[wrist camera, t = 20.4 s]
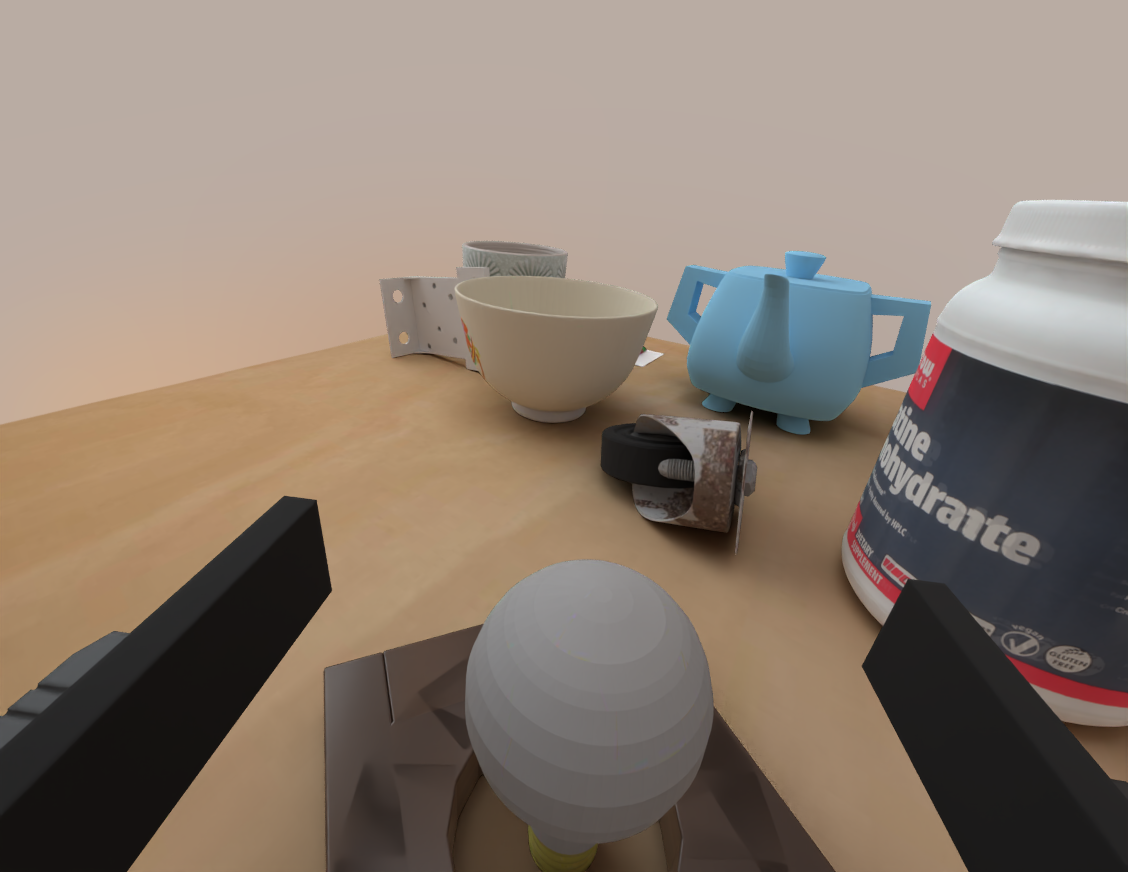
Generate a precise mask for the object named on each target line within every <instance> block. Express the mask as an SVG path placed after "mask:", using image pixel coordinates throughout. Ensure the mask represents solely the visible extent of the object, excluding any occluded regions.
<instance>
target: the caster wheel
mask: <svg viewBox="0 0 1128 872" xmlns="http://www.w3.org/2000/svg"><path fill="white" fill-rule="evenodd" d="M752 419H753V411H752V412H751V416H750V421H749V426H748V433H747V442H746V449H744V450H742V451H741V430H740V423H738V422H730V421H719V420H707V419H696V418H685V417H673V416H662V415H650V414H641V415H640V416H639V417H638V419H637V422H636V423H630V424H621V425H615V426H611V427H608V428H606V429H605V430H604V431H603V433H602V447H601V467H602V469H603V470H604V471H605V472H606V473H607V474H609V475H610V476H612V477H615V478H617V479H620V480H623V481H626V482H629V483H632V490H633V498H634V503H635V506H636V508H637V510H638V512H639V513H640V514H641V515H642V516H644V517H645V518H647V519H649V520H652V521H658V522H664V523H670V524H676V525H683V526H689V527H695V528H701V529H707V530H713V531H719V532H728V531H729V528H730V524H731V520H732V516H733V512H734V506H735V504H736V505H737V506H739V517H738V527H737V536H736V546H735V556H736V554H737V550H738V543H739V535H740V527H741V520H742V512H743V503H744V496H750V495H751V494H752V493H753V492H754V491H755V483H756V473H757V466H756V464H755V462H754V461H753V460H748V456H749V447H750V437H751V428H752ZM740 451H741V454H740ZM739 457H740V458H739ZM738 461H739V463H738Z"/></svg>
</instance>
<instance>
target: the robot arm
mask: <svg viewBox="0 0 1128 872" xmlns="http://www.w3.org/2000/svg"><path fill="white" fill-rule="evenodd" d="M331 591H332V588H331V582H330V576H329V570H328V564H327V558H326V553H325V547H324V541H323V535H322V529H321V523H320V517H319V512H318V506H317V500H312V499H304V498H297V497H289V496H284V497H282V498H281V499H280V500H279V501H278V502H277V503H276V504H275V505H273V506H272V507H271V508H270V509H269V510H268V511H267V512H266V513H264V514H263V515H262V516H261V517H260V518H259V519H258V520H257V521H255V522H254V523H253V524H252V525H251V526H250V527H249V528H248V529H247V530H245V531H244V532H243V533H242V534H241V535H240V536H239V537H238V538H236V539H235V540H234V541H233V542H232V543H231V544H230V545H229V546H227V547H226V548H225V549H224V550H223V551H222V552H221V553H220V554H218V555H217V556H216V557H215V558H214V559H213V560H212V561H211V562H209V563H208V564H207V565H206V566H205V567H204V568H203V569H202V570H201V571H199V572H198V573H197V574H196V575H195V576H194V577H193V578H192V579H190V580H189V581H188V582H187V583H186V584H185V585H184V586H183V587H181V588H180V589H179V590H178V591H177V592H176V593H175V594H174V595H172V596H171V597H170V598H169V599H168V600H167V601H166V602H165V603H164V604H162V605H161V606H160V607H159V608H158V609H157V610H156V611H155V612H153V613H152V614H151V615H150V616H149V617H148V618H147V619H146V620H144V621H143V622H142V623H141V624H140V625H139V626H138V627H137V628H135V629H134V630H133V631H132V632H131V633H124V632H118V631H113V632H111V633H110V634H108V635H106V636H104V637H103V638H101V639H99V640H97V641H96V642H94V643H92V644H90V645H89V646H87V647H85V648H83V649H81V650H80V651H78V652H76V653H74V654H73V655H72V656H71V657H69V658H68V659H67V660H66V661H65V662H63V663H62V664H61V665H60V666H59V667H57V668H56V669H55V670H54V671H53V672H51V673H50V674H49V675H48V676H47V677H45V678H44V679H43V680H42V681H41V682H39V683H38V687H37V688H36V689H35V690H30V691H29V692H27V693H26V694H25V695H24V696H23V697H22V698H20V699H19V700H18V701H17V702H16V703H14V704H13V705H12V706H11V707H10V708H8V711H7V713H6V714H5V715H4V716H0V872H127V871H128V870H129V868H130V867H131V865H132V864H133V863H134V861H135V860H136V859H137V857H138V856H139V854H140V853H141V852H142V850H143V849H144V848H145V846H146V845H147V843H148V842H149V841H150V839H151V838H152V837H153V835H154V834H155V833H156V831H157V830H158V828H159V827H160V826H161V824H162V823H163V822H164V820H165V819H166V817H167V816H168V815H169V813H170V812H171V811H172V809H173V808H174V806H175V805H176V804H177V802H178V801H179V800H180V798H181V797H182V796H183V794H184V793H185V791H186V790H187V789H188V787H189V786H190V785H191V783H192V782H193V780H194V779H195V778H196V776H197V775H198V774H199V772H200V771H201V769H202V768H203V767H204V765H205V764H206V763H207V761H208V760H209V759H210V757H211V756H212V754H213V753H214V752H215V750H216V749H217V748H218V746H219V745H220V743H221V742H222V741H223V739H224V738H225V737H226V735H227V734H228V732H229V731H230V730H231V728H232V727H233V726H234V724H235V723H236V721H237V720H238V719H239V717H240V716H241V715H242V713H243V712H244V711H245V709H246V708H247V706H248V705H249V704H250V702H251V701H252V700H253V698H254V697H255V695H256V694H257V693H258V691H259V690H260V689H261V687H262V686H263V684H264V683H265V682H266V680H267V679H268V678H269V676H270V675H271V674H272V672H273V671H274V669H275V668H276V667H277V665H278V664H279V663H280V661H281V660H282V658H283V657H284V656H285V654H286V653H287V652H288V650H289V649H290V647H291V646H292V645H293V643H294V642H295V641H296V639H297V638H298V637H299V635H300V634H301V632H302V631H303V630H304V628H305V627H306V626H307V624H308V623H309V621H310V620H311V619H312V617H313V616H314V615H315V613H316V612H317V610H318V609H319V608H320V606H321V605H322V604H323V602H324V601H325V599H326V598H327V597H328V595H329V594H330V593H331ZM862 668H863V669H864V671H865V673H866V675H867V677H868V679H869V681H870V683H871V685H872V687H873V689H874V691H875V693H876V694H877V696H878V698H879V700H880V702H881V704H882V706H883V708H884V710H885V712H886V714H887V716H888V718H889V719H890V721H891V723H892V725H893V727H894V729H895V731H896V733H897V735H898V737H899V739H900V741H901V743H902V744H903V746H904V748H905V750H906V752H907V754H908V756H909V758H910V760H911V762H912V764H913V766H914V768H915V769H916V771H917V773H918V775H919V777H920V779H921V781H922V783H923V785H924V787H925V789H926V791H927V793H928V794H929V796H930V798H931V800H932V802H933V804H934V806H935V808H936V810H937V812H938V814H939V816H940V818H941V820H942V821H943V823H944V825H945V827H946V829H947V831H948V833H949V835H950V837H951V839H952V841H953V843H954V845H955V846H956V848H957V850H958V852H959V854H960V856H961V858H962V860H963V862H964V864H965V866H966V868H967V870H968V871H969V872H1128V783H1127V782H1126V781H1119V780H1113V779H1110V778H1109V777H1108V775H1107V774H1106V773H1105V772H1104V771H1103V770H1102V768H1101V767H1100V766H1099V765H1098V764H1097V762H1096V761H1095V760H1094V759H1093V758H1092V757H1091V755H1090V754H1089V753H1088V752H1087V751H1086V750H1085V748H1084V747H1083V746H1082V745H1081V744H1080V742H1079V741H1078V740H1077V739H1076V738H1075V737H1074V735H1073V734H1072V733H1071V732H1070V731H1069V729H1068V728H1067V727H1066V726H1065V725H1064V724H1063V722H1062V721H1061V720H1060V719H1059V718H1058V716H1057V715H1056V714H1055V713H1054V712H1053V711H1052V709H1051V708H1050V707H1049V706H1048V705H1047V703H1046V702H1045V701H1044V700H1043V699H1042V698H1041V696H1040V695H1039V694H1038V693H1037V692H1036V690H1035V689H1034V688H1033V687H1032V686H1031V685H1030V683H1029V682H1028V681H1027V680H1026V679H1025V677H1024V676H1023V675H1022V674H1021V673H1020V672H1019V670H1018V669H1017V668H1016V667H1015V666H1014V664H1013V663H1012V662H1011V661H1010V660H1009V659H1008V657H1007V656H1006V655H1005V654H1004V653H1003V651H1002V650H1001V649H1000V648H999V647H998V646H997V644H996V643H995V642H994V641H993V640H992V639H991V637H990V636H989V635H988V634H987V633H986V631H985V630H984V629H983V628H982V627H981V626H980V624H979V623H978V622H977V621H976V620H975V618H974V617H973V616H972V615H971V614H970V613H969V611H968V610H967V609H966V608H965V607H964V605H963V604H962V603H961V602H960V601H959V600H958V598H957V597H956V596H955V595H954V594H953V592H952V591H951V590H950V589H949V588H948V587H947V585H946V584H945V583H937V582H930V581H922V580H915V579H908V580H907V581H906V583H905V585H904V587H903V589H902V591H901V593H900V595H899V597H898V598H897V600H896V602H895V604H894V606H893V608H892V610H891V612H890V614H889V616H888V617H887V619H886V621H885V623H884V625H883V627H882V629H881V631H880V633H879V634H878V636H877V638H876V640H875V642H874V644H873V646H872V648H871V650H870V651H869V653H868V655H867V657H866V659H865V661H864V663H863V665H862Z"/></svg>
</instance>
